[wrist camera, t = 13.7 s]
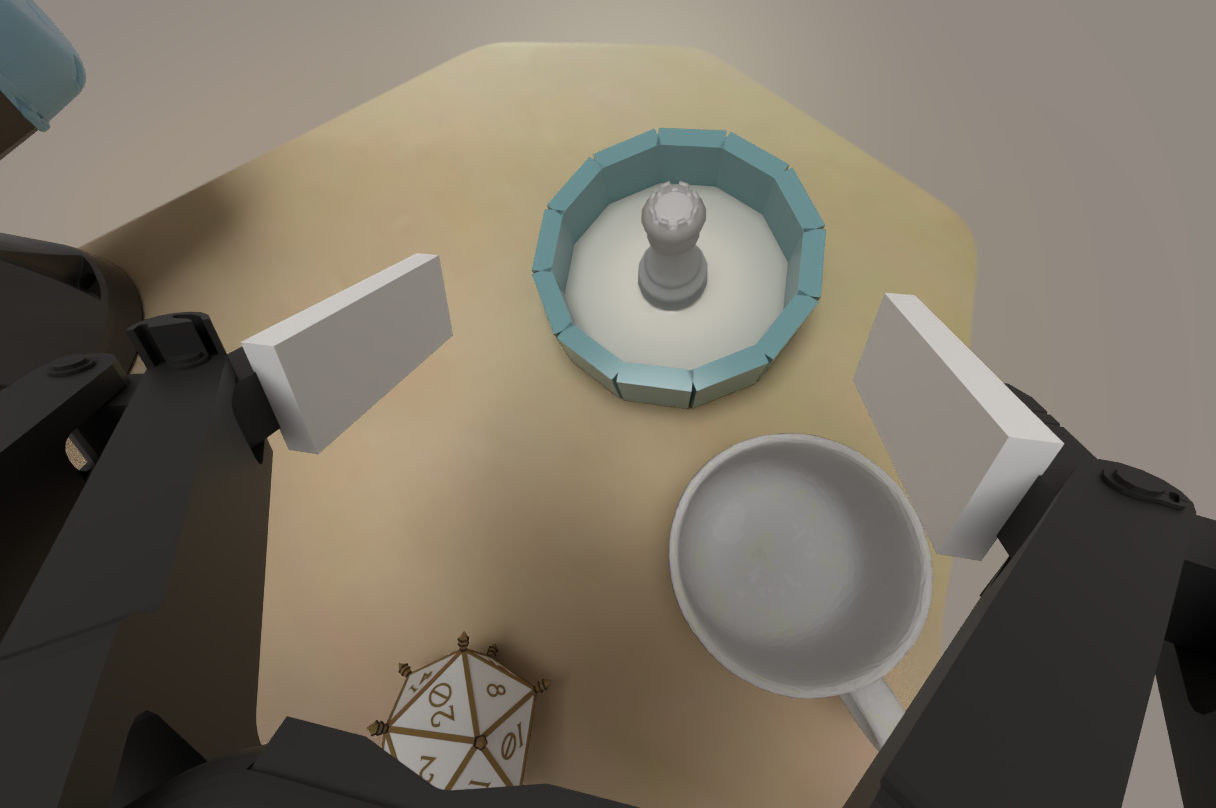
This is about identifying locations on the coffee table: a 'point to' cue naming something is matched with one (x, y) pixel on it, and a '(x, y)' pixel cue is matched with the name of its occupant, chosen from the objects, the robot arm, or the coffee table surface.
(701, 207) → the rook chess piece
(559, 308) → the dish
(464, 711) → the game die
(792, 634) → the teacup
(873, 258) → the coffee table surface
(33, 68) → the robot arm
